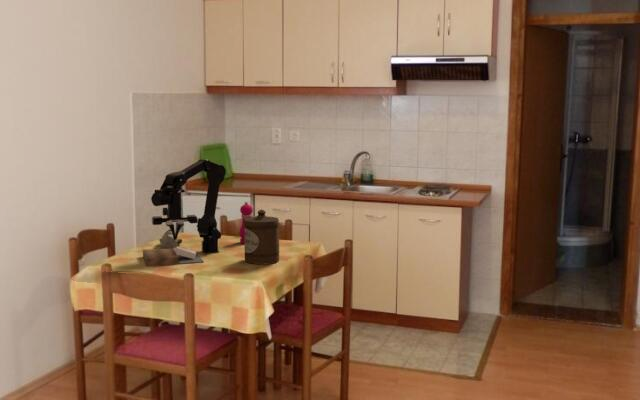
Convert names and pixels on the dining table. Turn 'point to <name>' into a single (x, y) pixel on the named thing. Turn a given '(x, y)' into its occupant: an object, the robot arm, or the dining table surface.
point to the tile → (185, 252)
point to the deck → (160, 257)
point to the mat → (190, 259)
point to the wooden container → (261, 239)
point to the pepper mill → (246, 213)
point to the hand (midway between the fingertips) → (175, 239)
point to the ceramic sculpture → (169, 240)
